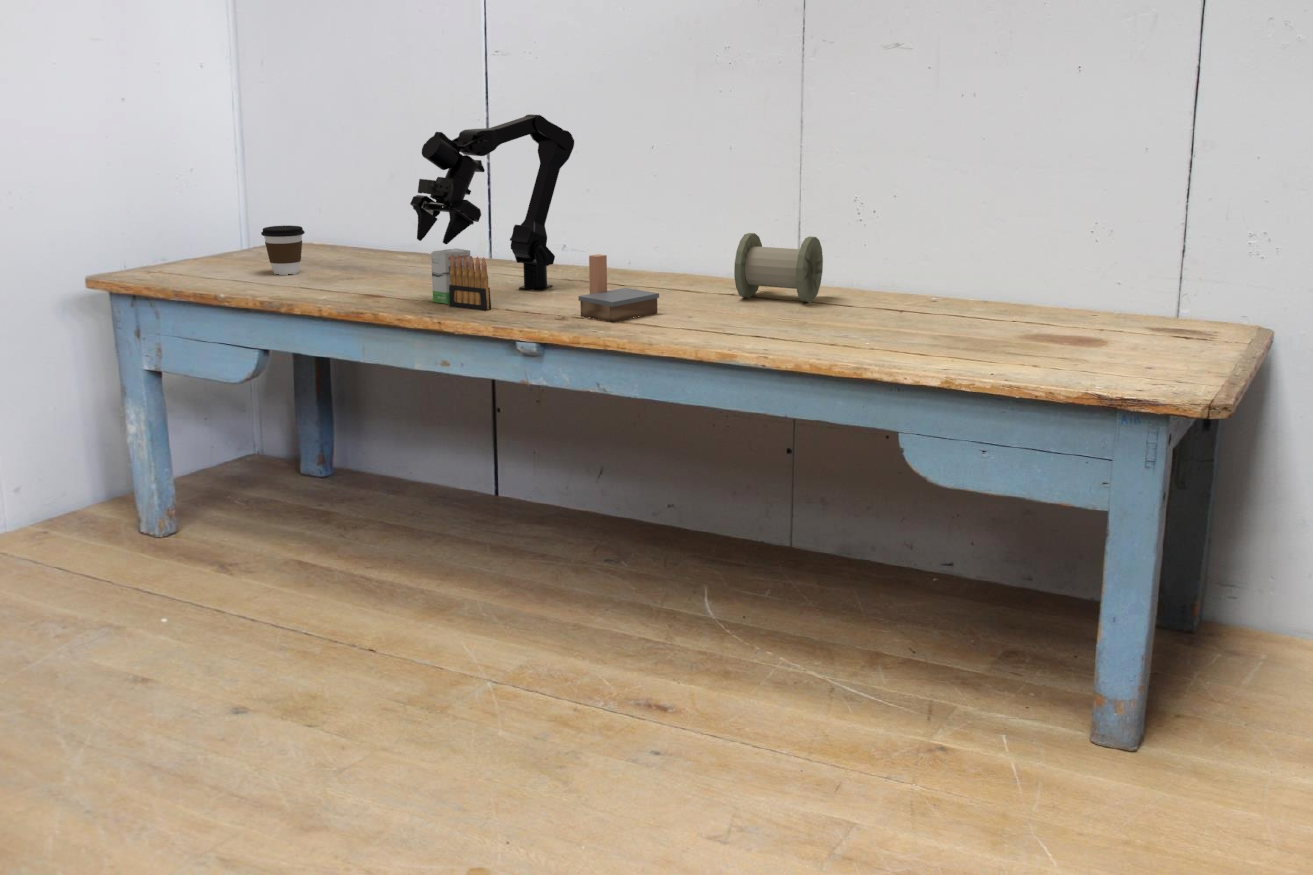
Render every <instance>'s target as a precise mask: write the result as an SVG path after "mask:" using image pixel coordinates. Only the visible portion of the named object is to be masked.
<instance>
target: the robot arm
mask: <svg viewBox="0 0 1313 875" xmlns="http://www.w3.org/2000/svg"><path fill="white" fill-rule="evenodd" d="M529 135H530V137H531V139H532V141H534V142H535V143H536V144H538V145H537V154H538V159H539V167H538V171H537V174H536V178H535V182H534V186H533V189H532V192H531V195H530V200H529V204H528V207H527V211H526V213H525V214H526V215H525V218H524V220H523V222H522V223H521V224H514V225H513V228H512V235H511V237H510V239H509V241H510V250H511V251H512V254H513V255H514V258H515V261H516V264H517V263H518V264H523V285H522V286H519V287H518V290H521V291H522V290H523V291H541V292H542V291H546V290H547V289H548V290H549V289H551V288H552V287H553V284H548V266H551V265H554V262H555V258H556V255H555V254H554V253H553V252H552V251H551V250H550V249H549V247H547V242H548V235H547V230H546V223H547V222H546V221H547V219H548V214H549V211H550V207H551V203H552V200H553V196H554V193H555V190H556V184H557V181H558V178H559V173H560V171H561V168H562V167H563V166H564V165H565V164H566V163H567V162H568V160H569V159H570V156H571V154H572V152H573V150H574V148H575V139H574V137H573V135H572V133H571V132H570V131H569V130H564V129H563V128H562V127H560V126H558V125H557V124H554V123H553V122H551V121H549V120H548V119H546V118H545V117H544V116H543V115H541V114H526V115H525V116H523V117H519V118H516V119H513V120H510V121H508V122H504V123H501V124H498V125H495V126H492V127H489V128H484V127H483V128H469V129H464V130H461V131H460V132H459V134H458V136H457V137H455V138H454V139H452V140H451V139H450V138H449V137H448V136H447V135H446V134H445V133H443V132H442V131H436V132H434V135H433V136H431V137H430V138H428V140H426V142H425V143H424V144H423V145H422V148H421V155H422V157H423V158H424V159H426V160H427V161H428V162H430V163H431V164H433V165H434V166H436V167H437V168H438V169H440V170H442V171H445V170H447V171H446V175H445V176H444V177H443V176H437V177H436V180H435V179H434V180H433V179H427V178H426V179H423V178H419V179H418V188H417V193H418V194H417V195H414V196H413V197H412V199H411V201H410V205H411V206H412V209H413V210H414V211H415V212H416V214H417V231H416V240H417V241H420V242H421V241H422V240H423V239H424V238H426V236H427V234H428V233H429V232H430V230H431V229H432V227H433V226H434V225H435V224H436V222H437V221H438V218H437V217H438V216H439V215H440V214H441V212H443V213H448V215H449V222H448V225H447V227H446V230H445V232H444V235H443V239H442V244H444V245H448V244H449V243H450V242H452V241H453V240H454V239H455V238H456V237H458V236H459V235H460V233H462V232H463V231H465V230H466V229H467V228H469V227H471V225H472V226H473V225H474V224H475V222H476V223H480V222H479V221H480V219H481V217H482V211H481V209H480V208H479V207H477V205H475V204H474V203H472V202H471V201H469V200H468V199H465V197H466V196H467V195H468V196H470V195H471V194H472V190H471V189H469V188H470V185H471V183H472V180H473V178H474V176H475V174H476V173H485V168H484V165H483V163H482V160H481V159H474V158H472V157H471V156H475V157H485V156H487V155H489V154H490V153H492V152H494V151H496V149H497V148H498V147H499V146H501V145H502V144H506V143H508V142H511V141H515V140H517V139H519V138H523V137H526V136H529ZM420 194H421V195H420ZM422 194H426V195H422ZM428 195H430V196H428Z"/></svg>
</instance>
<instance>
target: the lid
mask: <svg viewBox="0 0 1313 875" xmlns="http://www.w3.org/2000/svg"><path fill="white" fill-rule="evenodd" d="M607 257H608V256H607V254H601V253H597V254H590V255H589V256H588V265H589V266H588V267H589V270H588V271H589V277H588V279H589V293H588V294H583V295H578V298H577V299H578V301H579V302H580V301H584V302H589V303H595V304H600V305H606V306H611V307H614V306H619V305H624V304H629V303H635V302H640V301H645V300H650V299H655V298H657V299H660V293H659V292H654V291H647V290H642V289H641V290H640V289H635V288H630V287H629V288H628V287H622V288H618V289H617V288H616V289H612V290H611V289H610V290H608V274H607V273H608V265H607V262H608V261H607V260H608V258H607Z"/></svg>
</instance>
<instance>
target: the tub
mask: <svg viewBox="0 0 1313 875" xmlns="http://www.w3.org/2000/svg"><path fill="white" fill-rule="evenodd" d="M579 302H580V317H582V316H585V317H584V318H587V317H590V318H589V319H592V318H594V319H593V320H598V319H599V320H598V321H603V320H604V322H608V321H609V322H610V323H616V321H617V322H621V321H620V320H622V321H625V320H624V319H627V320H630V319H629V318H632V319H634V318H633V317H637V318H639V317H638V316H642V317H645V316H646V315H647V316H651V314H652V315H656V313H657V314H658V298H655V299H650V300H645V301H640V302H635V303H629V304H624V305H619V306H614V307H611V306H606V305H600V304H595V303H589V302H584V301H579ZM609 322H608V323H609Z"/></svg>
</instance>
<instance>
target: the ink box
mask: <svg viewBox="0 0 1313 875" xmlns="http://www.w3.org/2000/svg"><path fill="white" fill-rule="evenodd" d="M430 254H431V255H430V260H431V264H430V265H431V284H432V285H431V286H432V288H431V289H432V302H433V303H438V304H443V305H444V304H445V305H449V285H450V267H451V264H450V263H451V256H452V254H453V255H454V257H455V262H456V271H457V257H458V255H460V257H461V261H462V270H463V259H464V256H466V257H467V261H468V268H469V260H470V257H471V250H469V249H463V248H447V249H441V250H433V251H432V252H431V253H430Z"/></svg>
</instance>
